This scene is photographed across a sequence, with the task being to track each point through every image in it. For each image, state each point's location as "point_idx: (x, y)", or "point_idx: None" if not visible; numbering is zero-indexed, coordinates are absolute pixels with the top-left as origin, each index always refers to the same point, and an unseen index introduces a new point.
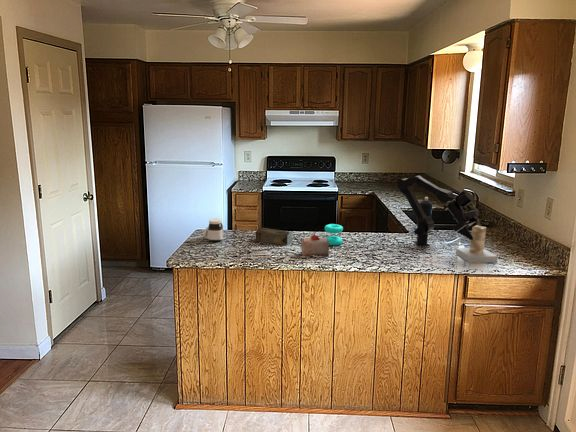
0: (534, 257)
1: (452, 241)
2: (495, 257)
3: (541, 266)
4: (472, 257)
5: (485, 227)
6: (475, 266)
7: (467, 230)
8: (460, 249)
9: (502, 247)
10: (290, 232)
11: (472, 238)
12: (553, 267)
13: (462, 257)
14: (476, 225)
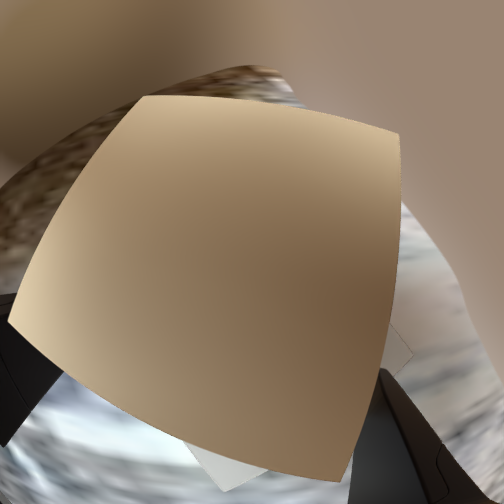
0: None
1: (16, 448)
2: None
3: (240, 89)
4: (405, 346)
5: (174, 99)
6: (433, 317)
7: (473, 488)
8: (245, 465)
9: (33, 221)
10: None
11: (387, 377)
12: (232, 72)
13: None
14: (22, 321)
